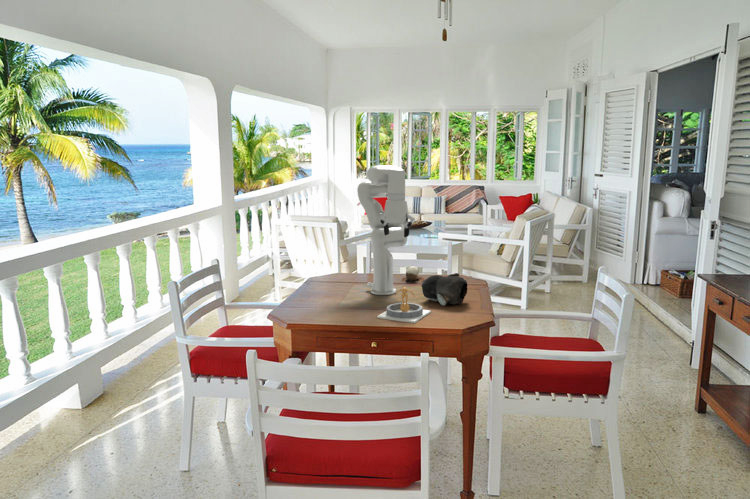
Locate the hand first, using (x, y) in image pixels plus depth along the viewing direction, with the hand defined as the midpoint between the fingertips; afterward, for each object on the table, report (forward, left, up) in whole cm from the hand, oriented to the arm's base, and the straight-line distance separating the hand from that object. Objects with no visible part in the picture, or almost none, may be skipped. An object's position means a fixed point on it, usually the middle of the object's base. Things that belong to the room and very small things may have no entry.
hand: (396, 235), depth 253 cm
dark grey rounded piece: (+19, +12, -31) cm, 38 cm away
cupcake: (-13, +46, -32) cm, 57 cm away
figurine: (+11, -15, -30) cm, 36 cm away
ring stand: (+11, -15, -31) cm, 36 cm away
